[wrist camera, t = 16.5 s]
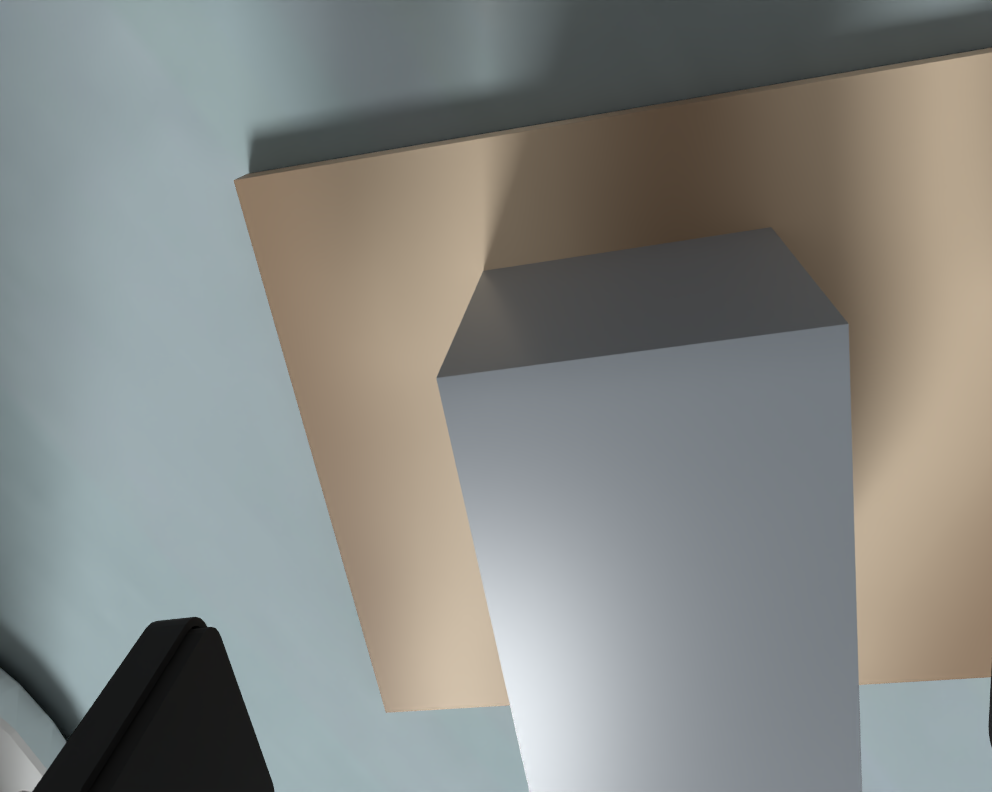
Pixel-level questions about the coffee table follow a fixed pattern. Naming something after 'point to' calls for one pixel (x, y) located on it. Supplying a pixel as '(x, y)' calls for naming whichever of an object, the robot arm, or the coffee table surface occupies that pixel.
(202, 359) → the coffee table surface
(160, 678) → the robot arm
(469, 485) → the gray rectangular block
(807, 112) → the oak board
